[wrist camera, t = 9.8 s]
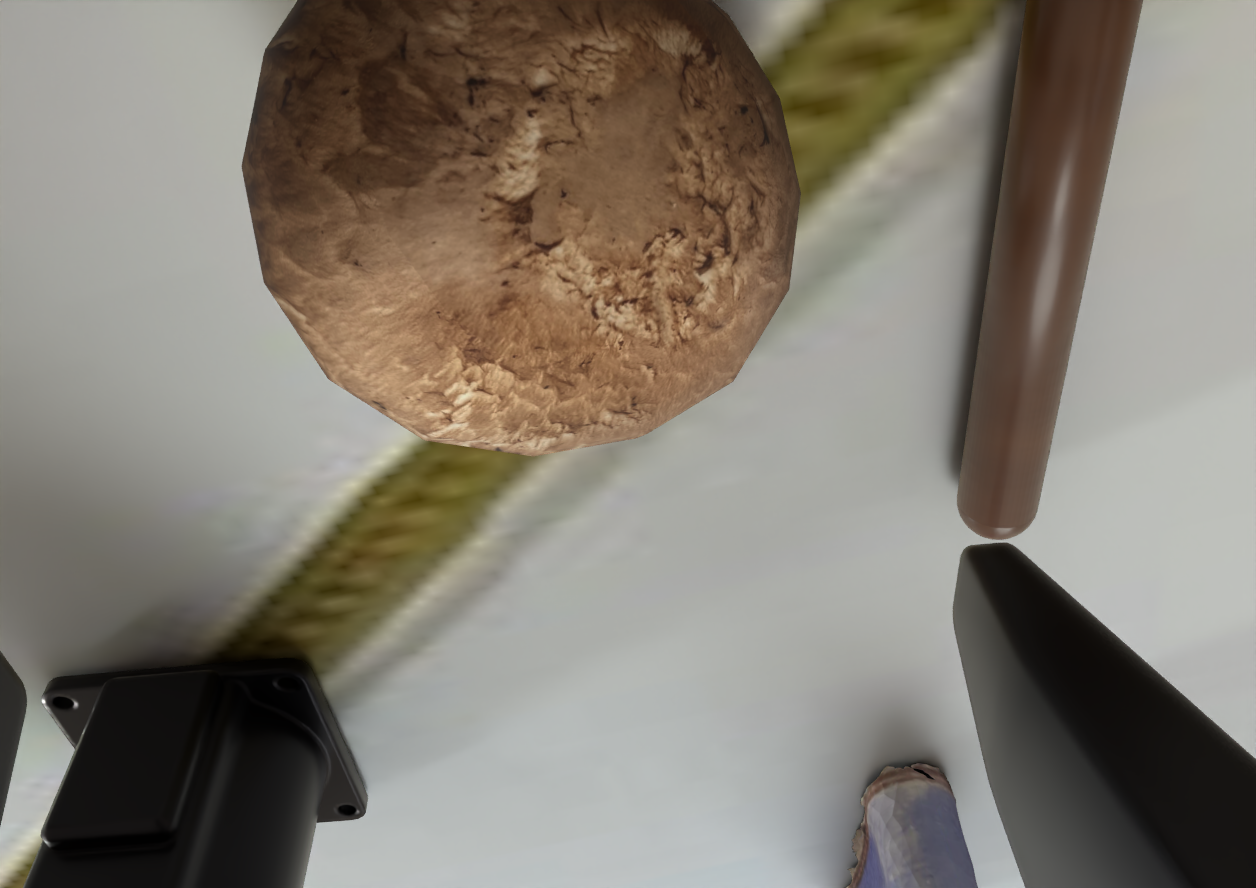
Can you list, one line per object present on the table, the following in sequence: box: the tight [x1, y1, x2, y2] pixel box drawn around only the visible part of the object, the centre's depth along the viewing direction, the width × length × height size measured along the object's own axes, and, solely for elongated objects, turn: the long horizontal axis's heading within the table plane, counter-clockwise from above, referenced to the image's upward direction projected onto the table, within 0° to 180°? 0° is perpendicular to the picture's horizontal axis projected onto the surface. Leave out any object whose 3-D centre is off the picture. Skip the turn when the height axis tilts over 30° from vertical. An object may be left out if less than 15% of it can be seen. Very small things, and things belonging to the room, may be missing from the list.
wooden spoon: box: [957, 0, 1143, 540], centre depth 16 cm, size 21×6×2 cm, turn 5°
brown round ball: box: [242, 0, 801, 456], centre depth 16 cm, size 8×8×6 cm
